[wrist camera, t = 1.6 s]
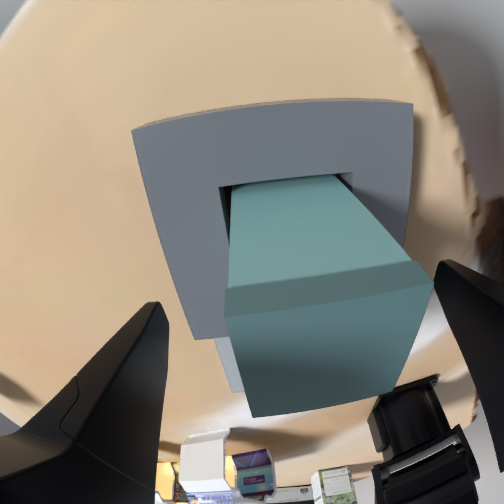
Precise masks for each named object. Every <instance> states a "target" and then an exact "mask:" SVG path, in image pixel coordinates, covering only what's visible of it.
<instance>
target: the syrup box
mask: <svg viewBox="0 0 504 504" xmlns="http://www.w3.org/2000/svg"><path fill="white" fill-rule="evenodd" d="M311 484H312V490H313V496H314V502H315V504H357V500H356V494H355V490H354V485H353V480H352V476H351V471H350V467H349V466H344V467H339V468H333V469H327V470H321V471H317V472H316V473H315V474H314V475H313V476H312V477H311Z"/></svg>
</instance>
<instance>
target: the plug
mask: <svg viewBox="0 0 504 504" xmlns="http://www.w3.org/2000/svg"><path fill="white" fill-rule="evenodd" d="M433 285H434V282H433V280H432V279H431V278H430V276H429V275H428V274H427V273H426V271H425V270H424V269H423V268H422V267H421V265H420V264H419V263H418V262H417V260H416V261H412V259H411V258H410V257H409V256H408V254H407V253H406V252H405V251H404V250H403V249H402V247H401V246H400V245H399V244H398V243H397V242H396V240H395V239H394V238H393V237H392V236H391V235H390V233H389V232H388V231H387V230H386V229H385V228H384V227H383V226H382V224H381V223H380V222H379V221H378V220H377V219H376V218H375V217H374V216H373V215H372V214H371V212H370V211H369V210H368V209H367V208H366V207H365V206H364V205H363V204H362V203H361V202H360V201H359V200H358V199H357V198H356V197H355V196H354V195H353V194H352V193H351V192H350V191H349V190H348V189H347V188H346V187H345V186H344V185H343V184H342V183H341V182H340V181H339V180H338V179H337V178H336V177H335V176H334V175H333V174H324V175H313V176H302V177H293V178H283V179H275V180H266V181H258V182H250V183H243V184H236V185H232V195H231V219H230V246H229V278H228V288H226V289H225V307H224V319H225V322H226V326H227V330H228V334H229V337H230V341H231V345H232V348H233V352H234V356H235V359H236V363H237V366H238V370H239V373H240V377H241V380H242V384H243V387H244V390H245V394H246V397H247V401H248V404H249V407H250V411H251V414H252V417H253V418H256V417H266V416H274V415H282V414H290V413H296V412H303V411H309V410H315V409H320V408H326V407H331V406H336V405H340V404H345V403H349V402H354V401H358V400H362V399H366V398H370V397H374V396H377V395H381V394H385V393H388V392H392V391H393V389H394V387H395V385H396V383H397V381H398V378H399V376H400V374H401V372H402V370H403V367H404V365H405V363H406V360H407V358H408V356H409V353H410V351H411V348H412V346H413V343H414V341H415V338H416V336H417V333H418V330H419V328H420V325H421V322H422V319H423V316H424V313H425V310H426V307H427V304H428V301H429V298H430V295H431V292H432V288H433Z"/></svg>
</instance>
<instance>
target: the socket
mask: <svg viewBox="0 0 504 504" xmlns="http://www.w3.org/2000/svg"><path fill="white" fill-rule="evenodd" d="M131 132H132V136H133V141H134V145H135V150H136V154H137V158H138V162H139V166H140V171H141V175H142V178H143V182H144V186H145V190H146V194H147V197H148V201H149V205H150V208H151V212H152V215H153V219H154V222H155V226H156V229H157V232H158V236H159V239H160V242H161V246H162V249H163V252H164V255H165V258H166V261H167V264H168V267H169V270H170V273H171V276H172V279H173V282H174V285H175V288H176V291H177V294H178V297H179V299H180V302H181V305H182V308H183V311H184V313H185V316H186V319H187V321H188V324H189V327H190V329H191V332H192V334H193V337H194V340H200V339H212V338H223V337H229V334H228V330H227V326H226V322H225V319H224V307H225V289H226V288H228V278H229V246H230V220H229V214H228V209H227V203H226V197H225V191H224V186H229V185H236V184H243V183H250V182H258V181H266V180H275V179H283V178H293V177H302V176H313V175H324V174H336V178H337V179H338V180H339V181H340V182H341V183H342V184H343V185H344V186H345V187H346V188H347V189H348V190H349V191H350V192H351V193H352V194H353V195H354V196H355V197H356V198H357V199H358V200H359V201H360V202H361V203H362V204H363V205H364V206H365V207H366V208H367V209H368V210H369V211H370V212H371V214H372V215H373V216H374V217H375V218H376V219H377V220H378V221H379V222H380V223H381V224H382V226H383V227H384V228H385V229H386V230H387V231H388V232H389V233H390V235H391V236H392V237H393V238H394V239H395V240H396V242H397V243H398V244H399V245H400V246H401V247H402V249H403V245H404V238H405V232H406V224H407V217H408V208H409V199H410V188H411V175H412V159H413V104H411V103H405V102H400V101H394V100H386V99H357V98H334V99H304V100H288V101H276V102H265V103H256V104H248V105H240V106H232V107H226V108H219V109H213V110H207V111H202V112H196V113H191V114H186V115H181V116H176V117H172V118H167V119H163V120H159V121H154V122H150V123H147V124H145V125H142V126H140V127H138V128H135V129H133V130H131Z"/></svg>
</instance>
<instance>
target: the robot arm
mask: <svg viewBox="0 0 504 504" xmlns="http://www.w3.org/2000/svg"><path fill="white" fill-rule="evenodd" d="M434 289H435V291H436V293H437V296H438V298H439V301H440V303H441V306H442V308H443V311H444V314H445V316H446V319H447V321H448V324H449V326H450V328H451V330H452V332H453V335H454V337H455V339H456V341H457V343H458V345H459V348H460V350H461V352H462V355H463V357H464V359H465V362H466V364H467V366H468V369H469V371H470V374H471V376H472V379H473V382H474V384H475V387H476V390H477V392H478V395H479V398H480V401H481V404H482V407H483V410H484V413H485V416H486V419H487V422H488V426H489V430H490V433H491V436H492V440H493V444H494V448H495V452H496V457H497V461H498V466H499V469H500V472H501V473H502V472H503V471H504V285H502V284H500V283H498V282H496V281H494V280H492V279H490V278H488V277H486V276H484V275H482V274H480V273H478V272H476V271H474V270H472V269H470V268H468V267H465V266H463V265H461V264H459V263H457V262H455V261H453V260H450V259H447V260H442V261H440V262H439V263H438V266H437V270H436V273H435V277H434ZM168 348H169V322H168V319H167V317H166V314H165V312H164V309H163V307H162V305H161V303H160V302H158V301H156V302H147V303H146V304H145V305H144V306H143V307H142V308H141V309H140V310H139V311H138V312H137V313H136V314H135V315H134V316H133V317H132V318H131V319H130V320H129V321H128V322H127V323H126V324H125V325H124V326H123V327H122V328H121V329H120V330H119V331H118V332H117V333H116V334H115V335H114V336H113V337H112V338H111V339H110V340H109V341H108V342H107V343H106V344H105V345H104V346H103V347H102V348H101V349H100V350H99V351H98V352H97V353H96V354H95V355H94V356H93V357H92V358H91V359H90V360H89V362H88V363H87V364H86V365H85V366H84V367H83V368H82V369H81V370H80V371H79V372H78V373H77V376H74V377H73V378H72V379H71V380H70V382H69V383H68V384H67V385H66V386H65V387H64V388H63V389H62V390H61V391H60V392H59V393H58V394H57V395H56V396H55V397H54V398H53V399H52V400H51V401H50V402H49V403H48V404H46V405H45V406H44V407H43V408H42V409H41V410H40V411H39V412H38V413H37V414H36V415H35V416H33V417H32V418H31V419H30V420H29V421H28V422H27V423H26V424H25V425H24V426H23V427H21V428H20V429H19V430H17V431H16V432H14V433H12V434H9V435H5V436H0V504H155V488H156V473H157V460H158V449H159V439H160V429H161V420H162V411H163V403H164V395H165V387H166V380H167V372H168ZM437 381H438V377H437V376H433V377H430V378H427V379H424V380H421V381H418V382H415V383H412V384H409V385H406V386H403V387H400V388H396V389H393V391H392V392H388V393H385V394H381V395H379V396H378V398H377V400H376V403H375V405H374V407H373V409H372V411H371V413H370V415H369V418H368V420H367V422H368V424H369V428H370V431H371V435H372V438H373V442H374V445H375V449H376V452H378V453H380V452H382V454H383V458H384V461H385V462H384V463H381V464H377V465H374V469H372V470H371V471H372V475H373V479H374V485H375V504H478V500H479V499H478V494H477V490H476V487H475V483H474V482H475V481H477V480H478V479H480V473H479V469H478V466H477V463H476V460H475V457H474V455H473V453H472V450H471V448H470V446H469V444H468V441H467V439H466V437H465V435H464V433H463V430H462V428H461V426H460V424H458V425H456V426H454V428H453V429H451V428H450V425H449V423H448V421H447V418H446V416H445V413H444V411H443V409H442V407H441V404H440V402H439V400H438V398H437V395H436V393H435V391H434V389H433V388H434V386H435V385H436V383H437ZM454 441H456V443H457V444H456V445H453V444H451V445H450V446H448V447H446V448H444V449H442V448H443V447H445V446H447V445H449V444H450V443H452V442H454ZM440 449H442V450H441V451H439V452H437V453H435V454H433V455H431V456H429V457H427V458H425V459H423V460H421V461H419V462H417V463H414V464H412V465H410V466H408V467H405V468H403V467H404V466H407V465H409V464H411V463H413V462H416V461H418V460H420V459H422V458H424V457H426V456H428V455H430V454H432V453H434V452H436V451H438V450H440ZM400 468H403V469H401V470H399V471H396V472H394V473H391V474H390V472H393V471H395V470H398V469H400Z"/></svg>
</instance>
